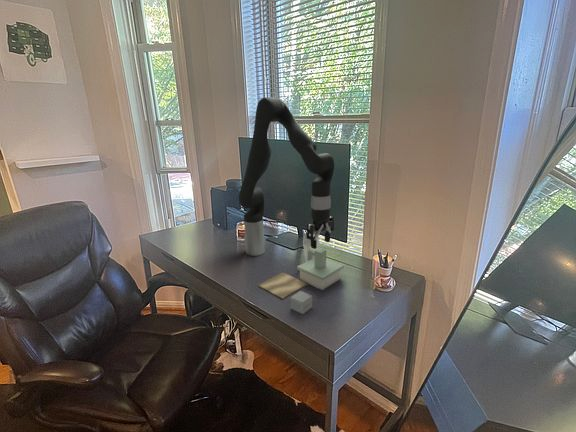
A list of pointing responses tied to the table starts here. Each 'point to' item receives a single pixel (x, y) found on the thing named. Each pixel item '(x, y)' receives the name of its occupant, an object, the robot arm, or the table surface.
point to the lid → (320, 266)
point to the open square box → (320, 283)
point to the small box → (301, 302)
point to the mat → (282, 285)
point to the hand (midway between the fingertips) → (320, 244)
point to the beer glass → (309, 247)
